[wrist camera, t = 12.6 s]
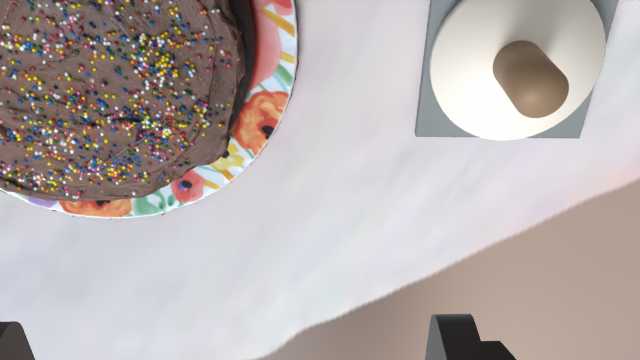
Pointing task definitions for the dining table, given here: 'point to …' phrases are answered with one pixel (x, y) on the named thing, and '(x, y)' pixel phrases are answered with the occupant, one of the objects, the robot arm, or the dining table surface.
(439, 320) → the robot arm
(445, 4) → the mat
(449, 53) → the cover
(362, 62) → the dining table surface
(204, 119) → the chocolate cake
